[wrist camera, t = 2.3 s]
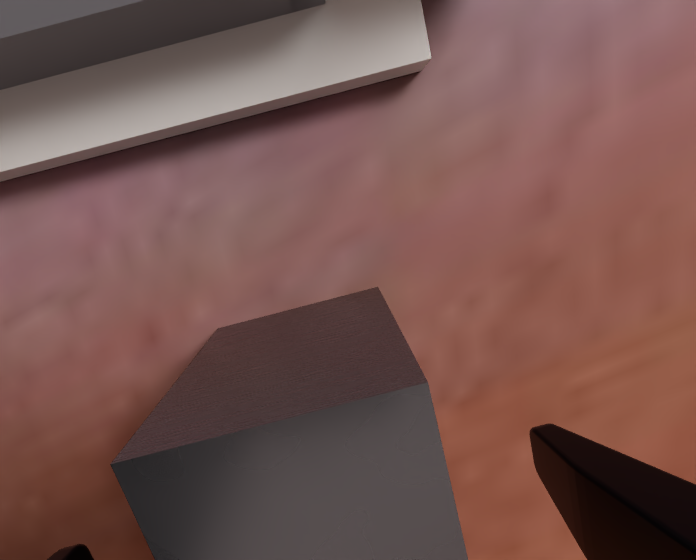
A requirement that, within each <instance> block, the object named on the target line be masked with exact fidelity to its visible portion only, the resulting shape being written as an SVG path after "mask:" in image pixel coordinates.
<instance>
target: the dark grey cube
mask: <svg viewBox="0 0 696 560" xmlns="http://www.w3.org/2000/svg"><path fill="white" fill-rule="evenodd" d="M110 465H111V467H112V469H113V471H114V473H115V475H116V477H117V479H118V482H119V484H120V486H121V488H122V490H123V492H124V494H125V497H126V499H127V501H128V503H129V505H130V507H131V509H132V511H133V514H134V516H135V518H136V520H137V522H138V524H139V526H140V529H141V531H142V533H143V535H144V537H145V539H146V541H147V543H148V546H149V548H150V550H151V552H152V554H153V556H154V558H155V560H468V557H467V553H466V549H465V544H464V540H463V535H462V531H461V527H460V522H459V518H458V513H457V509H456V504H455V500H454V496H453V491H452V487H451V482H450V478H449V474H448V469H447V465H446V460H445V456H444V451H443V447H442V443H441V438H440V434H439V429H438V425H437V421H436V416H435V412H434V407H433V403H432V398H431V394H430V390H429V385H428V382H427V380H426V378H425V376H424V374H423V372H422V370H421V368H420V366H419V364H418V363H417V361H416V359H415V357H414V355H413V353H412V351H411V349H410V347H409V345H408V343H407V341H406V340H405V338H404V336H403V334H402V332H401V330H400V328H399V326H398V324H397V322H396V320H395V319H394V317H393V315H392V313H391V311H390V309H389V307H388V305H387V303H386V301H385V299H384V297H383V296H382V294H381V292H380V290H379V288H378V287H375V288H372V289H368V290H364V291H360V292H356V293H352V294H349V295H345V296H341V297H337V298H333V299H329V300H326V301H322V302H318V303H314V304H310V305H306V306H302V307H299V308H295V309H291V310H287V311H283V312H279V313H276V314H272V315H268V316H264V317H260V318H256V319H253V320H249V321H245V322H241V323H237V324H233V325H230V326H226V327H222V328H218V329H217V330H216V332H215V333H214V334H213V335H212V337H211V338H210V339H209V340H208V342H207V343H206V344H205V345H204V347H203V348H202V349H201V350H200V352H199V353H198V354H197V356H196V357H195V358H194V359H193V361H192V362H191V363H190V364H189V366H188V367H187V368H186V369H185V371H184V372H183V373H182V374H181V376H180V377H179V378H178V380H177V381H176V382H175V383H174V385H173V386H172V387H171V388H170V390H169V391H168V392H167V393H166V395H165V396H164V397H163V399H162V400H161V401H160V402H159V404H158V405H157V406H156V407H155V409H154V410H153V411H152V412H151V414H150V415H149V416H148V417H147V419H146V420H145V421H144V423H143V424H142V425H141V426H140V428H139V429H138V430H137V431H136V433H135V434H134V435H133V436H132V438H131V439H130V440H129V441H128V443H127V444H126V445H125V447H124V448H123V449H122V450H121V452H120V453H119V454H118V455H117V457H116V458H115V459H114V460H113V462H112V463H111V464H110Z"/></svg>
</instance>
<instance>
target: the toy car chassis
mask: <svg viewBox="0 0 696 560" xmlns="http://www.w3.org/2000/svg"><path fill="white" fill-rule="evenodd" d="M430 60H431V52H430V47H429V42H428V36H427V31H426V25H425V20H424V14H423V9H422V3H421V0H0V182H2V181H5V180H9V179H13V178H17V177H21V176H24V175H28V174H32V173H36V172H40V171H43V170H47V169H51V168H55V167H59V166H62V165H66V164H70V163H74V162H77V161H81V160H85V159H89V158H93V157H96V156H100V155H104V154H108V153H112V152H115V151H119V150H123V149H127V148H131V147H134V146H138V145H142V144H146V143H150V142H153V141H157V140H161V139H165V138H169V137H172V136H176V135H180V134H184V133H187V132H191V131H195V130H199V129H203V128H206V127H210V126H214V125H218V124H222V123H225V122H229V121H233V120H237V119H241V118H244V117H248V116H252V115H256V114H260V113H263V112H267V111H271V110H275V109H279V108H282V107H286V106H290V105H294V104H297V103H301V102H305V101H309V100H313V99H316V98H320V97H324V96H328V95H332V94H335V93H339V92H343V91H347V90H351V89H354V88H358V87H362V86H366V85H370V84H373V83H377V82H381V81H385V80H388V79H392V78H396V77H400V76H404V75H407V74H411V73H415V72H419V71H422V70H423V69H424V67H425V66H426V65H427V63H428V62H429V61H430Z"/></svg>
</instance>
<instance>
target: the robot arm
mask: <svg viewBox="0 0 696 560" xmlns="http://www.w3.org/2000/svg"><path fill="white" fill-rule="evenodd" d="M530 441H531V447H532V453H533V459H534V465H535V468H536V471H537V473H538V475H539V477H540V479H541V481H542V482H543V484H544V486H545V488H546V489H547V491H548V493H549V495H550V496H551V498H552V500H553V502H554V503H555V505H556V507H557V509H558V510H559V512H560V514H561V515H562V517H563V519H564V521H565V522H566V524H567V526H568V528H569V529H570V531H571V533H572V535H573V536H574V538H575V540H576V542H577V543H578V545H579V547H580V548H581V550H582V552H583V553H584V555H585V557H586V558H587V560H696V484H693V483H691V482H689V481H686V480H684V479H682V478H679V477H677V476H674V475H672V474H670V473H667V472H665V471H663V470H660V469H658V468H656V467H653V466H651V465H648V464H646V463H644V462H641V461H639V460H637V459H634V458H632V457H630V456H627V455H625V454H622V453H620V452H618V451H615V450H613V449H611V448H608V447H606V446H604V445H601V444H599V443H596V442H594V441H592V440H589V439H587V438H585V437H582V436H580V435H578V434H575V433H573V432H571V431H568V430H566V429H563V428H561V427H559V426H556V425H554V424H544V425H540V426H537V427H533V428H532V429H531V430H530ZM47 560H94V559H93V557H92V555H91V553H90V551H89V549H88V548H87V546H85V545H84V544H77V545H73V546H70V547H66V548H63V549H60V550H58V551H57V552H56V553H54V554H53V555H52V556H51V557H49V558H48V559H47Z"/></svg>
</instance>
